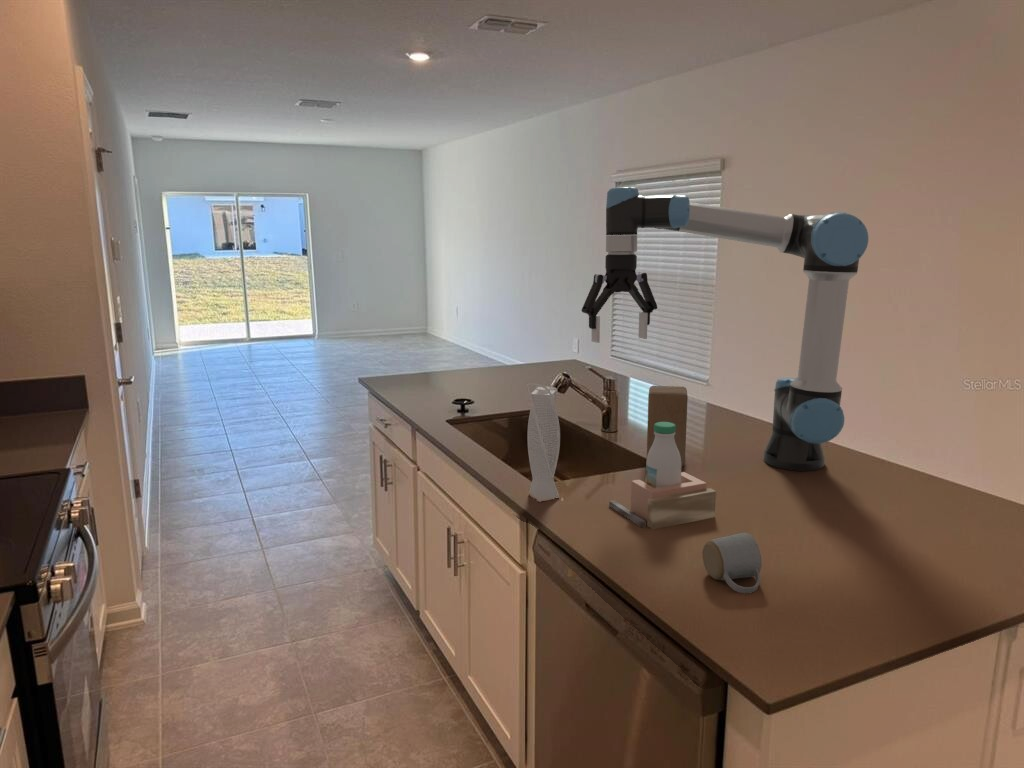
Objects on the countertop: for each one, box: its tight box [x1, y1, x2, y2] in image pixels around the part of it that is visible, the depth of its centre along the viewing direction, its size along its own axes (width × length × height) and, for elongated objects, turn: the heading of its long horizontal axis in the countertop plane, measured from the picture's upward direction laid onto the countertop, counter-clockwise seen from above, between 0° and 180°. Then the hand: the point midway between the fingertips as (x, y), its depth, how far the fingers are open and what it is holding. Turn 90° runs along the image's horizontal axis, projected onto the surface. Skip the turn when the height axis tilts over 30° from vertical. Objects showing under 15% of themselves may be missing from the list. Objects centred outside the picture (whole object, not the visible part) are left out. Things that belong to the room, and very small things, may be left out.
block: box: [646, 385, 689, 467], centre depth 187 cm, size 10×10×20 cm
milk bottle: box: [644, 422, 682, 488], centre depth 153 cm, size 8×8×20 cm
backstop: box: [608, 487, 717, 530], centre depth 154 cm, size 15×19×6 cm
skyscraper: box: [526, 382, 561, 500], centre depth 161 cm, size 8×8×28 cm
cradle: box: [630, 471, 707, 522], centre depth 153 cm, size 8×14×7 cm, turn 113°
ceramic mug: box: [702, 532, 763, 594], centre depth 123 cm, size 11×8×8 cm
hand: (619, 340), depth 173 cm, fingers open, 13 cm apart
